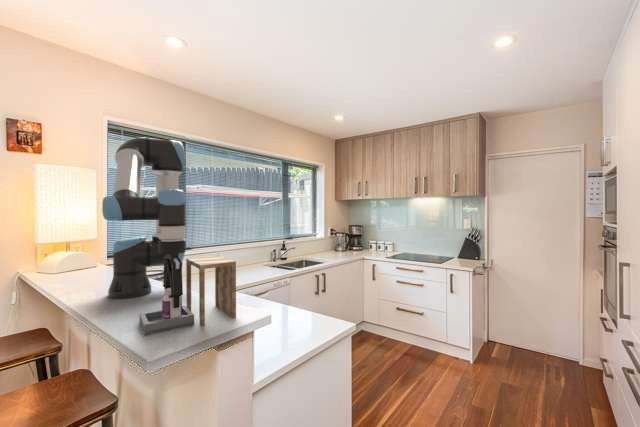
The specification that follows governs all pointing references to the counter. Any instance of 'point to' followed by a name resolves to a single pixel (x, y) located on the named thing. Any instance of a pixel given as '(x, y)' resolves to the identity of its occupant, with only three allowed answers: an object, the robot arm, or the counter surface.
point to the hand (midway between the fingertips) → (172, 314)
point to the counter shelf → (223, 284)
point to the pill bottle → (167, 304)
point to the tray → (164, 321)
